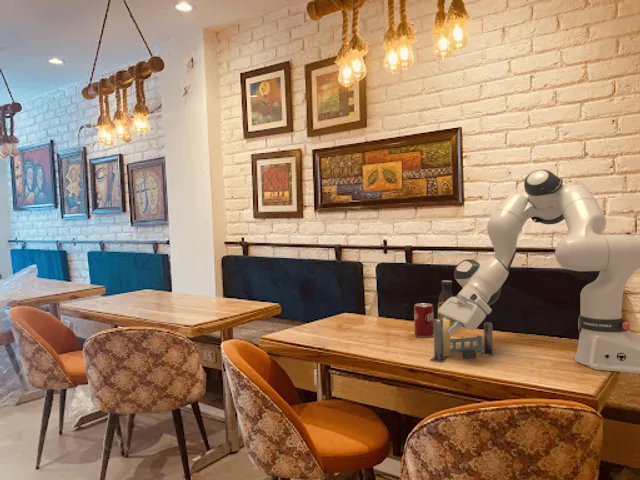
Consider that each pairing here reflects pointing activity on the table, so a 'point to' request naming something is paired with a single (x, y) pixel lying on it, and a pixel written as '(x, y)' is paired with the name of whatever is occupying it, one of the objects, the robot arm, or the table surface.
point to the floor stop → (469, 354)
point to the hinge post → (488, 340)
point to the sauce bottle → (445, 296)
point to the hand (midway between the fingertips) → (444, 331)
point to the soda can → (424, 320)
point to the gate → (447, 341)
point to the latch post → (438, 341)
